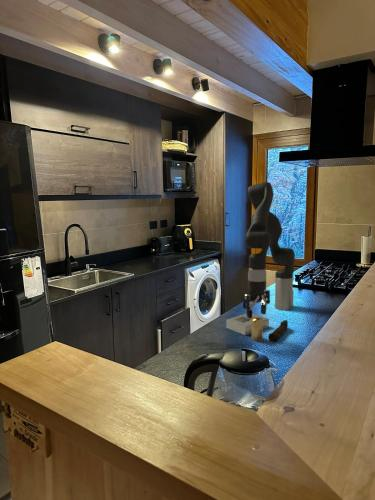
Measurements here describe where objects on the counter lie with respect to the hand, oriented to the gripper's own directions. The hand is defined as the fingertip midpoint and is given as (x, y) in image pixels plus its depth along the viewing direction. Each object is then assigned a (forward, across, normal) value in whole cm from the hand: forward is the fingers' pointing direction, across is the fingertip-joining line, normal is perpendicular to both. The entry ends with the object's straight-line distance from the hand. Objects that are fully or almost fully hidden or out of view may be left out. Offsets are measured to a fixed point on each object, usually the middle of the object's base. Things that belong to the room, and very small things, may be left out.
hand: (256, 315), depth 149 cm
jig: (+10, -7, -12) cm, 17 cm away
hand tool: (+11, -12, +3) cm, 16 cm away
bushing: (+10, 0, 0) cm, 10 cm away
